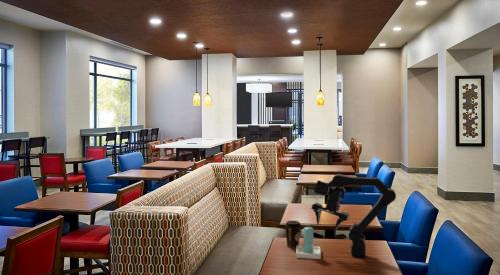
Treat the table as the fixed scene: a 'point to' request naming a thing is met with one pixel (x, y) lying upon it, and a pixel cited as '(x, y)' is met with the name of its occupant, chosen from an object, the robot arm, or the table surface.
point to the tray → (314, 255)
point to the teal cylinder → (308, 240)
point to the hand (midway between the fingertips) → (326, 227)
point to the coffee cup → (292, 233)
